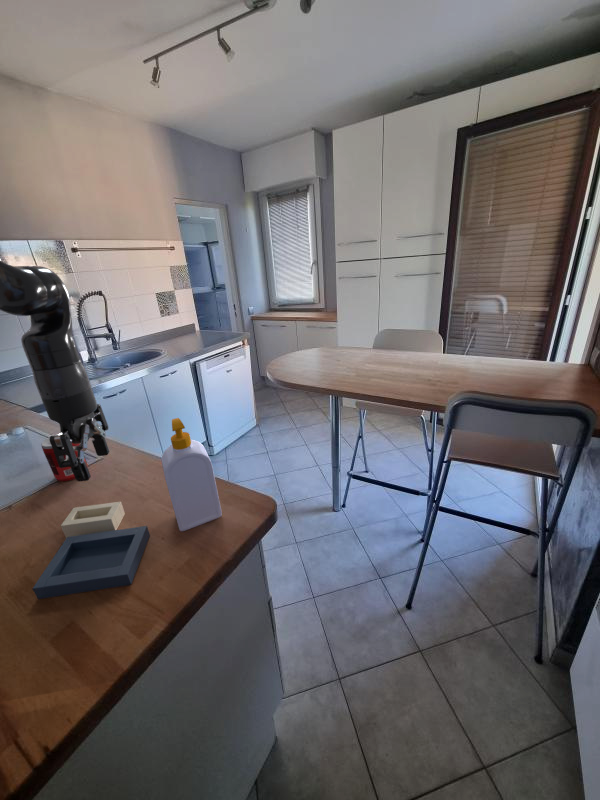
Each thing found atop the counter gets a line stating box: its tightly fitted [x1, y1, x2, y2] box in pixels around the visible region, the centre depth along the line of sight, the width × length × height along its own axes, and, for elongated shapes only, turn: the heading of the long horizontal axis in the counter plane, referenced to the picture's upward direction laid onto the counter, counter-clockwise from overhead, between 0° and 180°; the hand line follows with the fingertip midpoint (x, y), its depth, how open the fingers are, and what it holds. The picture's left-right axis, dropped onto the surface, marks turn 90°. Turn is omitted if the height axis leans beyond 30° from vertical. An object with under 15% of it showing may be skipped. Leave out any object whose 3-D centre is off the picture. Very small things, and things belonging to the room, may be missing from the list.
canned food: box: [40, 433, 89, 482], centre depth 90 cm, size 8×8×11 cm
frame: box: [60, 501, 126, 539], centre depth 72 cm, size 10×6×4 cm, turn 97°
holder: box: [32, 525, 151, 600], centre depth 62 cm, size 16×12×3 cm
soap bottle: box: [161, 417, 223, 532], centre depth 69 cm, size 9×7×23 cm
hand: (94, 466), depth 64 cm, fingers open, 8 cm apart
